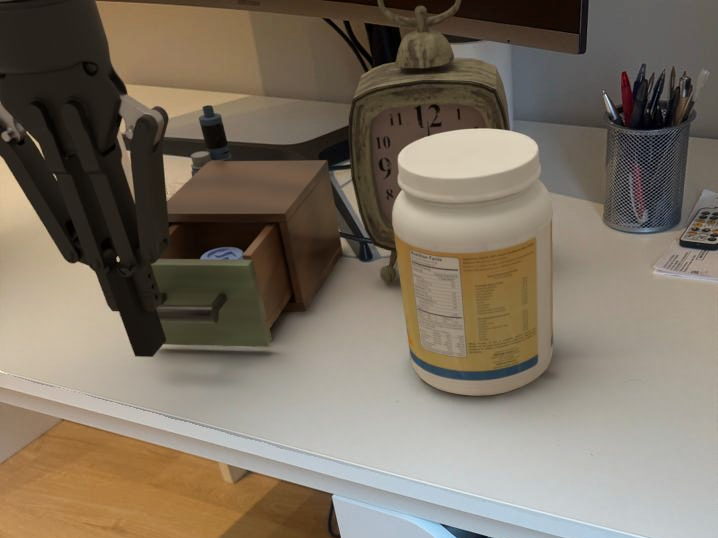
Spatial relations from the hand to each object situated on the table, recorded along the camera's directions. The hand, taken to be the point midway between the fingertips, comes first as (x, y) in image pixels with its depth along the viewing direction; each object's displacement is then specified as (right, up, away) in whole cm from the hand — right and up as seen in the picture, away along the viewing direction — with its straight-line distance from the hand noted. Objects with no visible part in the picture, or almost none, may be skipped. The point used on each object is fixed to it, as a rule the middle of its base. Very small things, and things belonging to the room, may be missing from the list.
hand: (150, 348), depth 71 cm
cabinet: (+4, +14, +21) cm, 25 cm away
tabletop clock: (+22, +14, +20) cm, 33 cm away
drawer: (+2, +6, +12) cm, 14 cm away
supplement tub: (+26, 0, +6) cm, 27 cm away
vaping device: (-3, +24, +31) cm, 39 cm away
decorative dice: (+3, +9, +14) cm, 16 cm away
